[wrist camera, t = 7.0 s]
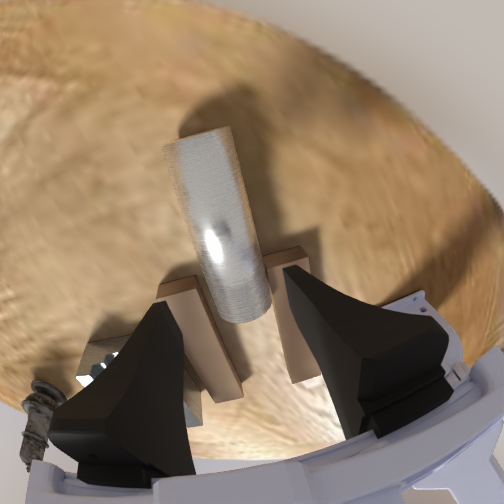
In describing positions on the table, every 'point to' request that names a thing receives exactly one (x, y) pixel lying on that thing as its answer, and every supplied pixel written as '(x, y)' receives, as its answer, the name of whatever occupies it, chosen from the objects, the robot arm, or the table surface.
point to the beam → (210, 342)
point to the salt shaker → (38, 420)
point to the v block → (105, 352)
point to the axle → (220, 222)
